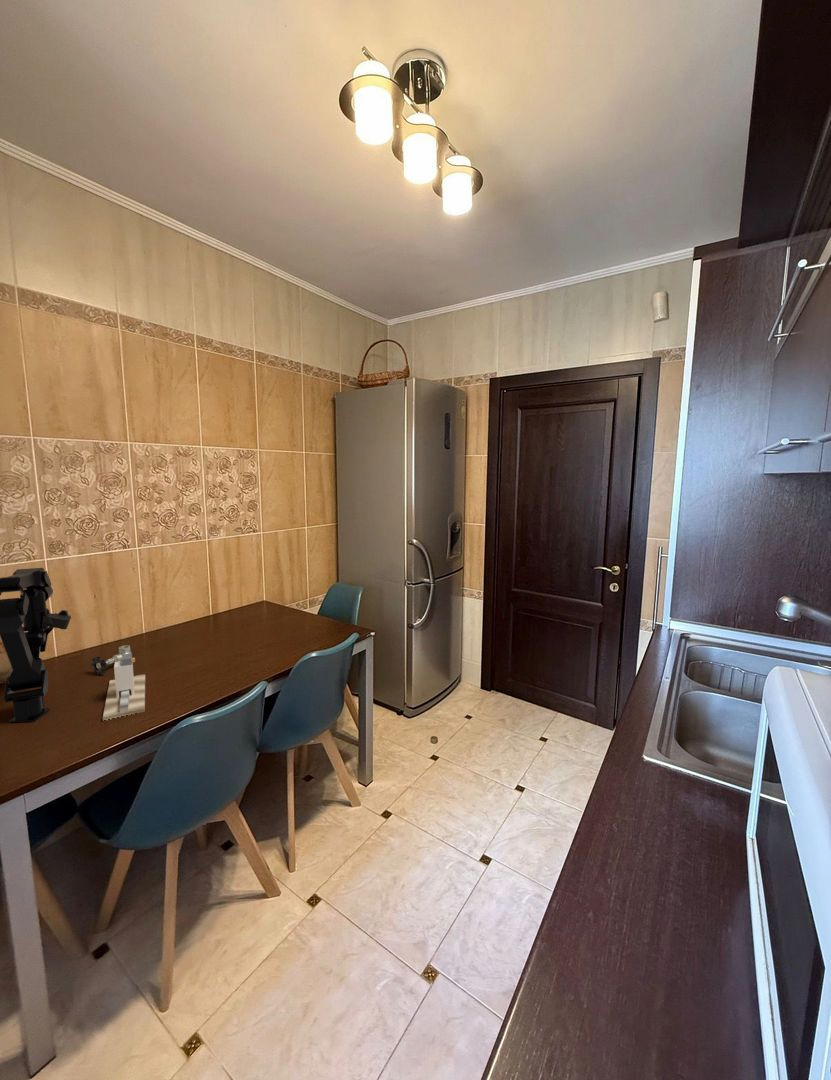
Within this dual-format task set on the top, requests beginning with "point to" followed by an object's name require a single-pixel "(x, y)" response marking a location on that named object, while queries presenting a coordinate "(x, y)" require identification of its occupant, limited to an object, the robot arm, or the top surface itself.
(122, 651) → the valve
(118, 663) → the breaker module
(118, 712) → the din board
